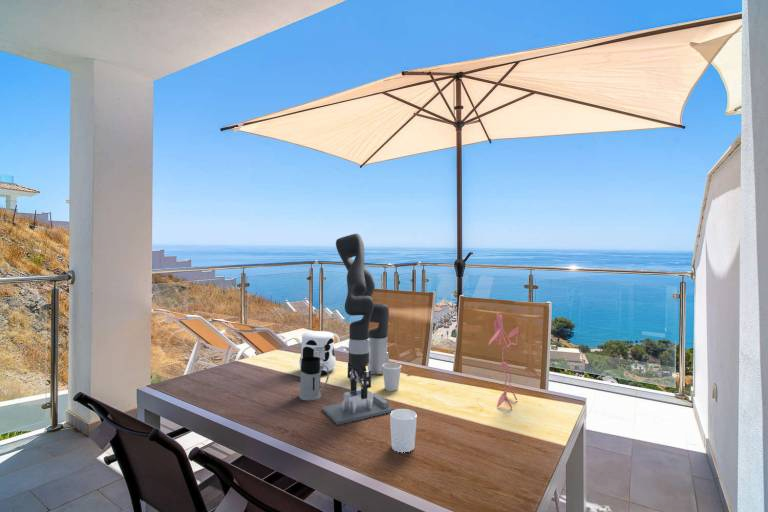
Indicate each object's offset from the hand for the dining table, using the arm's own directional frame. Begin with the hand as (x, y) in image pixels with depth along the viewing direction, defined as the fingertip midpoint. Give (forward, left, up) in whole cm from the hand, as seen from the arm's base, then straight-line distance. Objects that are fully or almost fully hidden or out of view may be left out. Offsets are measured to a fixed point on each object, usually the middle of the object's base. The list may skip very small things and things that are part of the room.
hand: (358, 394), depth 140 cm
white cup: (0, +30, -6) cm, 31 cm away
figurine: (-52, +18, -6) cm, 55 cm away
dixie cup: (-23, -14, -6) cm, 27 cm away
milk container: (-4, -52, -6) cm, 53 cm away
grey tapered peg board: (0, 0, -6) cm, 6 cm away
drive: (0, 0, -5) cm, 5 cm away
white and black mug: (+9, -20, -6) cm, 23 cm away
